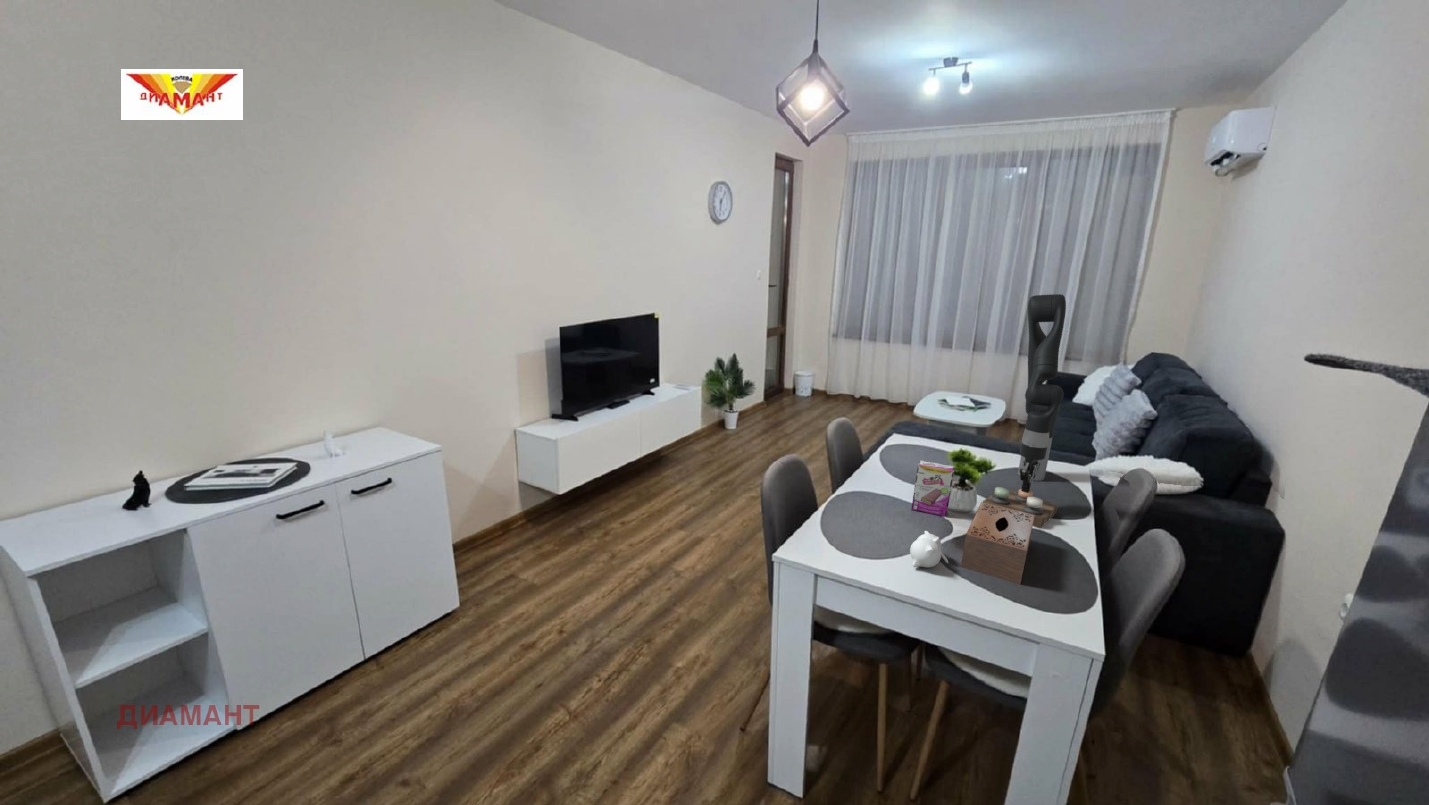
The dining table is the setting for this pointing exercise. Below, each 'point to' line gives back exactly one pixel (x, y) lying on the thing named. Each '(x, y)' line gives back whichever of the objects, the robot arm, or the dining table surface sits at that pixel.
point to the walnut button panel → (1025, 507)
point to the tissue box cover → (998, 542)
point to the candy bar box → (933, 488)
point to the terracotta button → (1025, 494)
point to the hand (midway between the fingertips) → (1025, 491)
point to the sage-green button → (1002, 492)
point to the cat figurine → (926, 551)
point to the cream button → (1034, 502)
